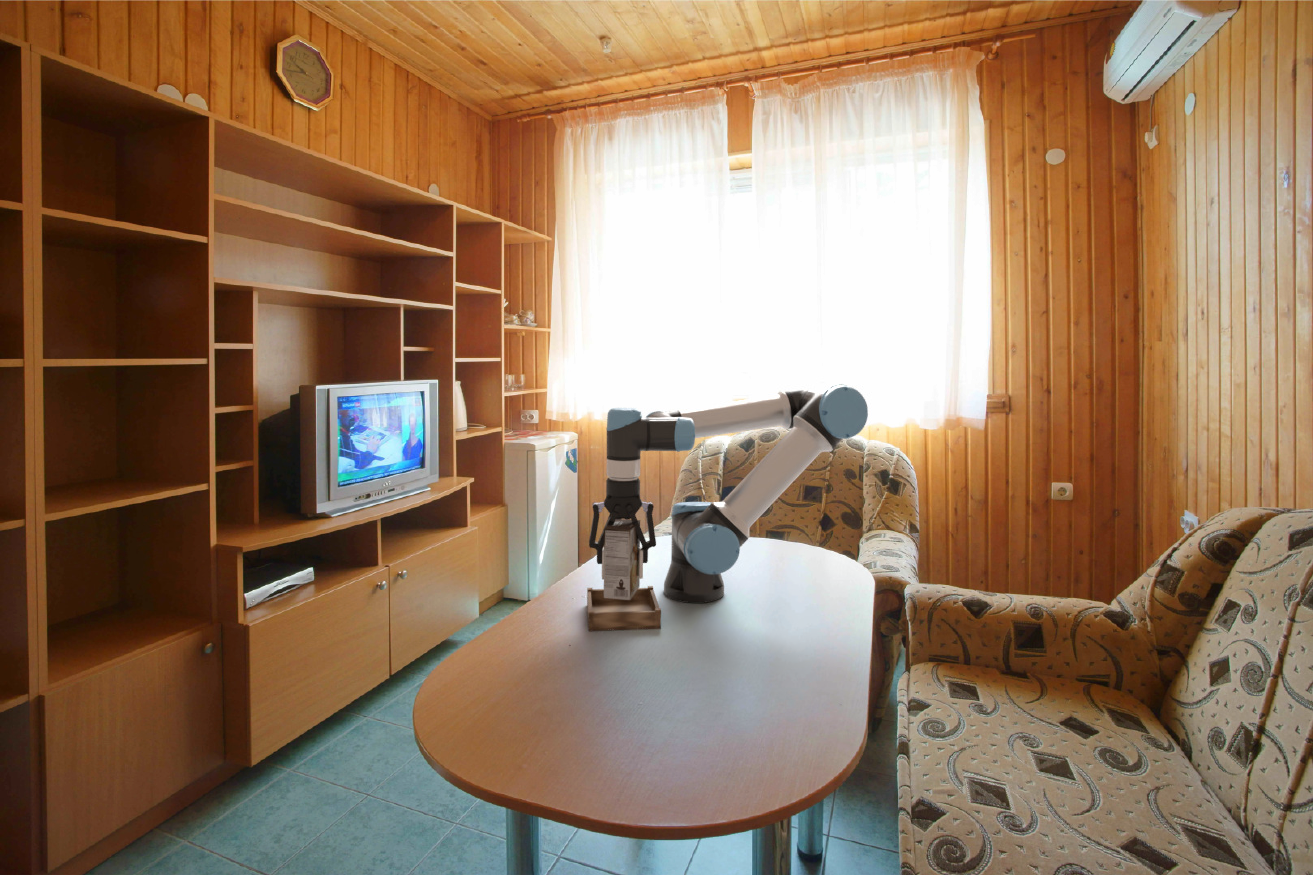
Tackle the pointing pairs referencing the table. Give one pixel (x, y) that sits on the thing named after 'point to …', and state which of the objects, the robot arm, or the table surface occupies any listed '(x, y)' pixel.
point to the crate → (623, 611)
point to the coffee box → (621, 560)
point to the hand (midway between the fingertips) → (622, 576)
